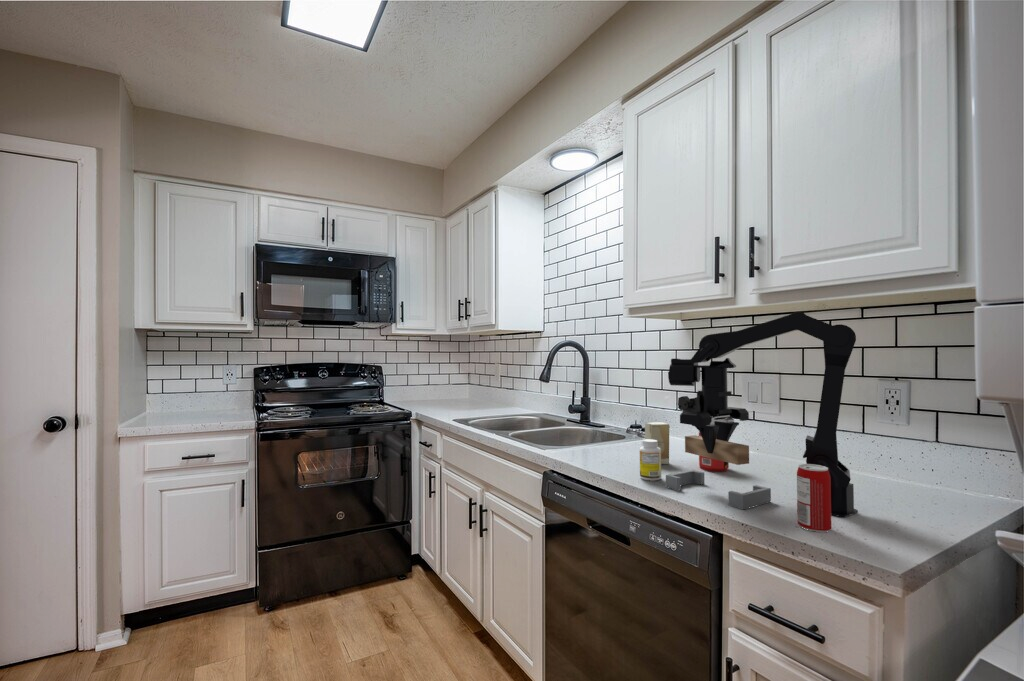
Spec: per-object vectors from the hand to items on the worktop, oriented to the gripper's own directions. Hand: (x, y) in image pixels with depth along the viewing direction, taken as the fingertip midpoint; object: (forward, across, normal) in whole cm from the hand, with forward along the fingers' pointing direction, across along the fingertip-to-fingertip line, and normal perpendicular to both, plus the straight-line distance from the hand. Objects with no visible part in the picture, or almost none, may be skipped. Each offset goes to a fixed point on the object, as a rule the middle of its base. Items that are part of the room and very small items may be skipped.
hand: (715, 452), depth 118 cm
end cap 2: (+10, 0, +9) cm, 13 cm away
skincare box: (+10, -14, -31) cm, 35 cm away
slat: (+1, 0, 0) cm, 1 cm away
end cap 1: (+10, 0, -9) cm, 13 cm away
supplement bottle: (+10, +2, -19) cm, 21 cm away
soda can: (+10, +4, +24) cm, 27 cm away
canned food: (+10, -22, -17) cm, 29 cm away
